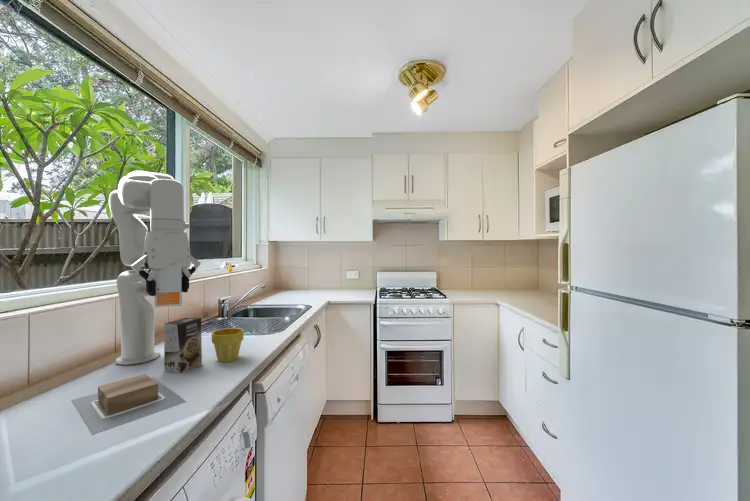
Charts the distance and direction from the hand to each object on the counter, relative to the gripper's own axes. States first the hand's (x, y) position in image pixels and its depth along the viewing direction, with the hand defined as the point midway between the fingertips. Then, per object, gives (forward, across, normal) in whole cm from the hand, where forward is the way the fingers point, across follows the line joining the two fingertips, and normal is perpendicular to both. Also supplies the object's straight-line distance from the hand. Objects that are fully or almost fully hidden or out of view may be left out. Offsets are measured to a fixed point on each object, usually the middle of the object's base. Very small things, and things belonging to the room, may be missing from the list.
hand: (168, 293), depth 86 cm
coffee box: (+28, -10, -16) cm, 33 cm away
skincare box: (+3, 0, 0) cm, 3 cm away
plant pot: (+28, -24, -14) cm, 39 cm away
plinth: (+26, +9, -2) cm, 28 cm away
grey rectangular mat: (+27, +9, -2) cm, 29 cm away
